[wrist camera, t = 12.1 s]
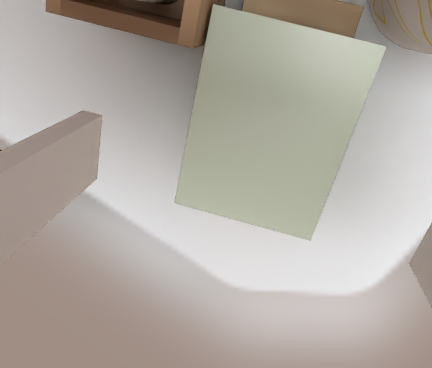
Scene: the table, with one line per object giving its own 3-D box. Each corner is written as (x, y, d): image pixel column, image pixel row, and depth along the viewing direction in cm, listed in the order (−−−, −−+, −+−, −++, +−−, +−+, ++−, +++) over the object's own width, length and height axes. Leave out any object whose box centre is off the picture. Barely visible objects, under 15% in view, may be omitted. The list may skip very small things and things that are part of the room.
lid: (307, 217, 28) (310, 240, 25) (185, 183, 28) (174, 202, 25) (373, 43, 23) (387, 46, 20) (221, 6, 23) (213, 4, 20)
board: (284, 216, 31) (284, 231, 29) (203, 194, 31) (196, 207, 29) (356, 8, 24) (364, 6, 22) (251, -17, 25) (248, -21, 22)
